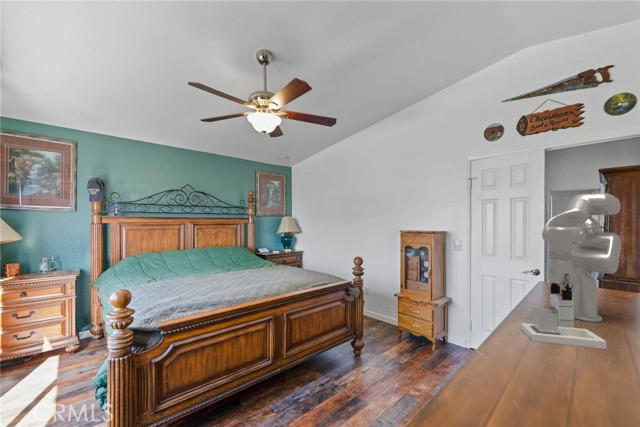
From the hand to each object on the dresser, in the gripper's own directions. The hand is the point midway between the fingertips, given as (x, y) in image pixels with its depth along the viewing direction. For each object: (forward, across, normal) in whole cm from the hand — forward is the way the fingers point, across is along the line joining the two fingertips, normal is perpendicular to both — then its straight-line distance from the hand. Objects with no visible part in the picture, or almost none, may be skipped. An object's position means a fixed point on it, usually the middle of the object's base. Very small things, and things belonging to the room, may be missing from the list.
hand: (560, 297), depth 119 cm
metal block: (+13, +12, -10) cm, 21 cm away
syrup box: (+14, -1, +1) cm, 14 cm away
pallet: (+14, +12, -5) cm, 19 cm away
